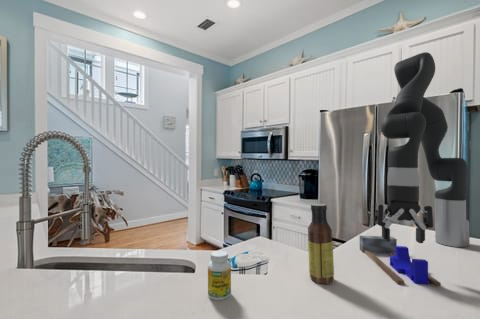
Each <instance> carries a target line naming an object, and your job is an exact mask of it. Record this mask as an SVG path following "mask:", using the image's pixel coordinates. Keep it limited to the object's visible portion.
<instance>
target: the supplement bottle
mask: <svg viewBox="0 0 480 319" xmlns="http://www.w3.org/2000/svg"><path fill="white" fill-rule="evenodd" d="M228 259H229V253H228V252H227V251H225V250H214V251H212V252H211V253H210V262H209V263H208V265H207V295H208V296H207V297H208V298H209V299H211V300H213V301H222V300H226V299H228V298H229V297H230V296H231V293H232V264H231V262H230V261H229V260H228Z"/></svg>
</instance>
